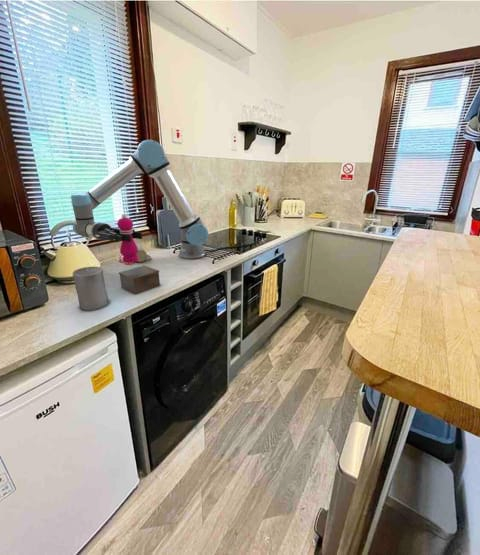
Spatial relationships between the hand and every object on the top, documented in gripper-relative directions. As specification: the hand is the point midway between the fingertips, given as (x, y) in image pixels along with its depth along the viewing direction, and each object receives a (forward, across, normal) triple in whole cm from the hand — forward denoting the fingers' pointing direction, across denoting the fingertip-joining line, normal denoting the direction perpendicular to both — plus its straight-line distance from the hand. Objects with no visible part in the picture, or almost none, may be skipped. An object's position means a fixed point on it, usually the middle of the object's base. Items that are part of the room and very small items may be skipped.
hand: (135, 237), depth 113 cm
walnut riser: (0, +1, -22) cm, 22 cm away
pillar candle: (-2, +22, -22) cm, 31 cm away
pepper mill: (-5, 0, -11) cm, 12 cm away
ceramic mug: (-29, -26, -22) cm, 45 cm away
